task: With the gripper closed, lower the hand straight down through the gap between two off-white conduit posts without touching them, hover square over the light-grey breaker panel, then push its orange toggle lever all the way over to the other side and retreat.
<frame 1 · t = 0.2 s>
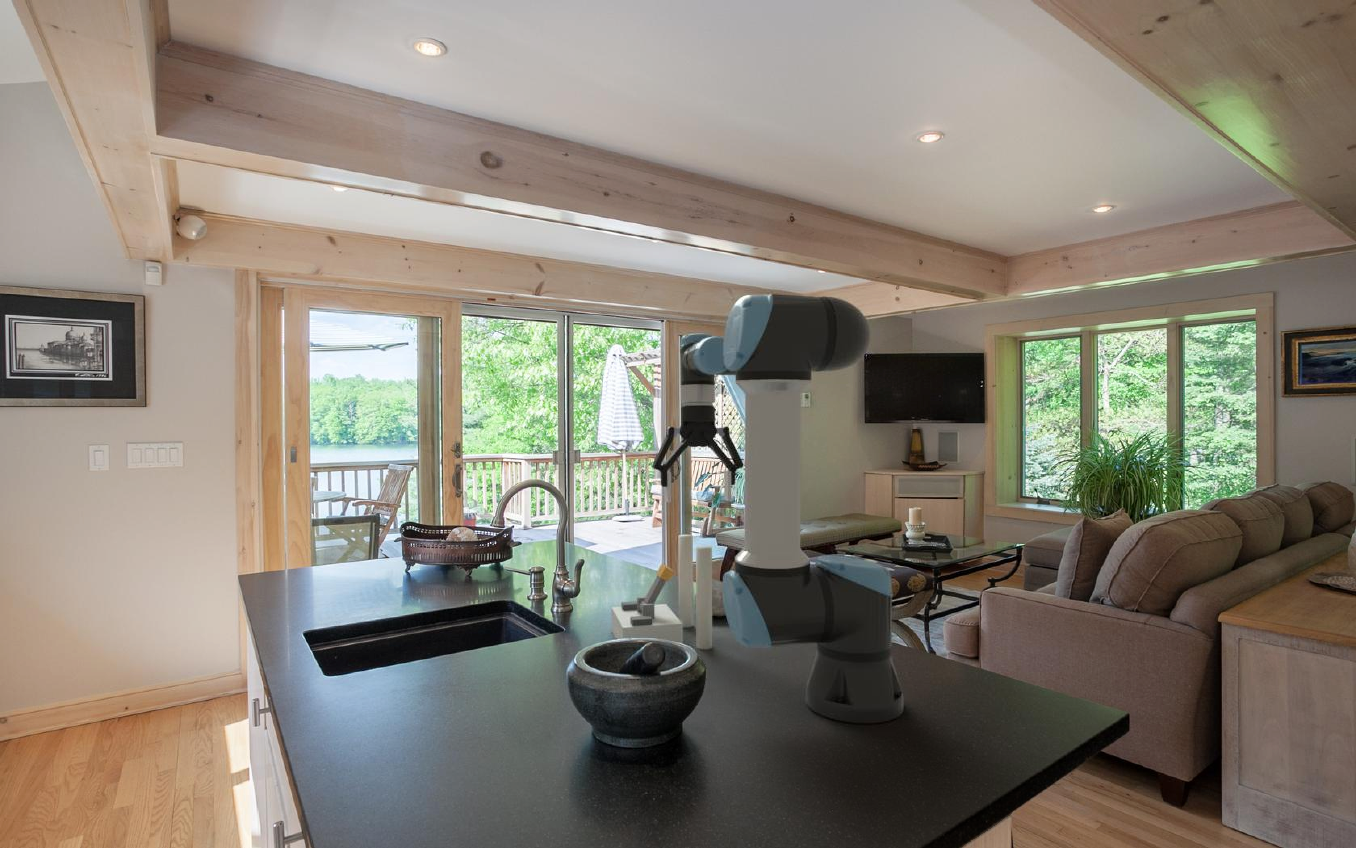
hand: (698, 501, 159), 28 cm above the worktop, fingers open, 13 cm apart
seashell: (717, 615, 169), on the worktop
post near: (704, 647, 145), on the worktop
breaker panel: (645, 639, 150), on the worktop
post far: (685, 625, 160), on the worktop
breaker lever: (655, 589, 151), point 10 cm above the worktop, hinge at 30.0°
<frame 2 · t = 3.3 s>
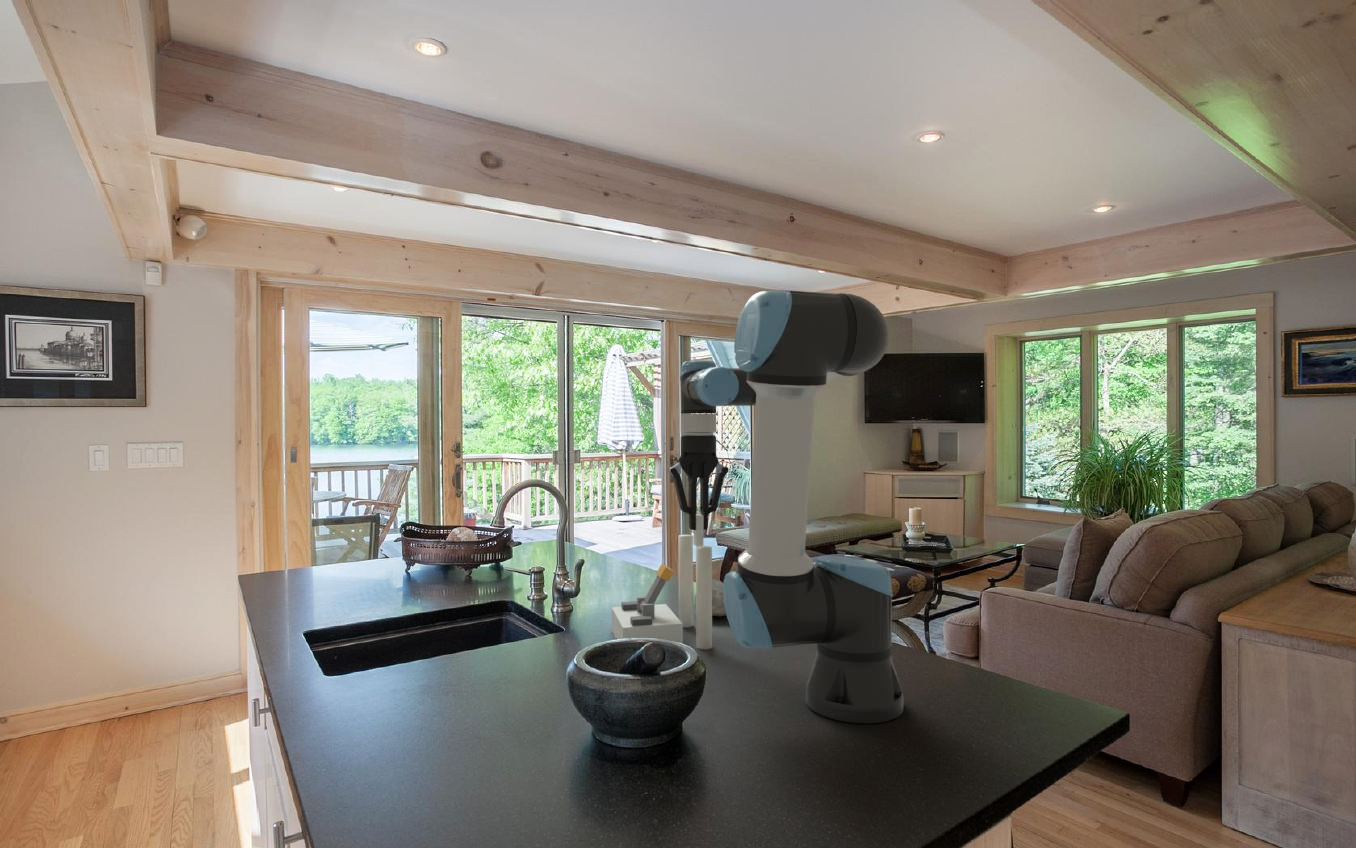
hand: (698, 545, 153), 19 cm above the worktop, fingers closed
nothing on the worktop moved.
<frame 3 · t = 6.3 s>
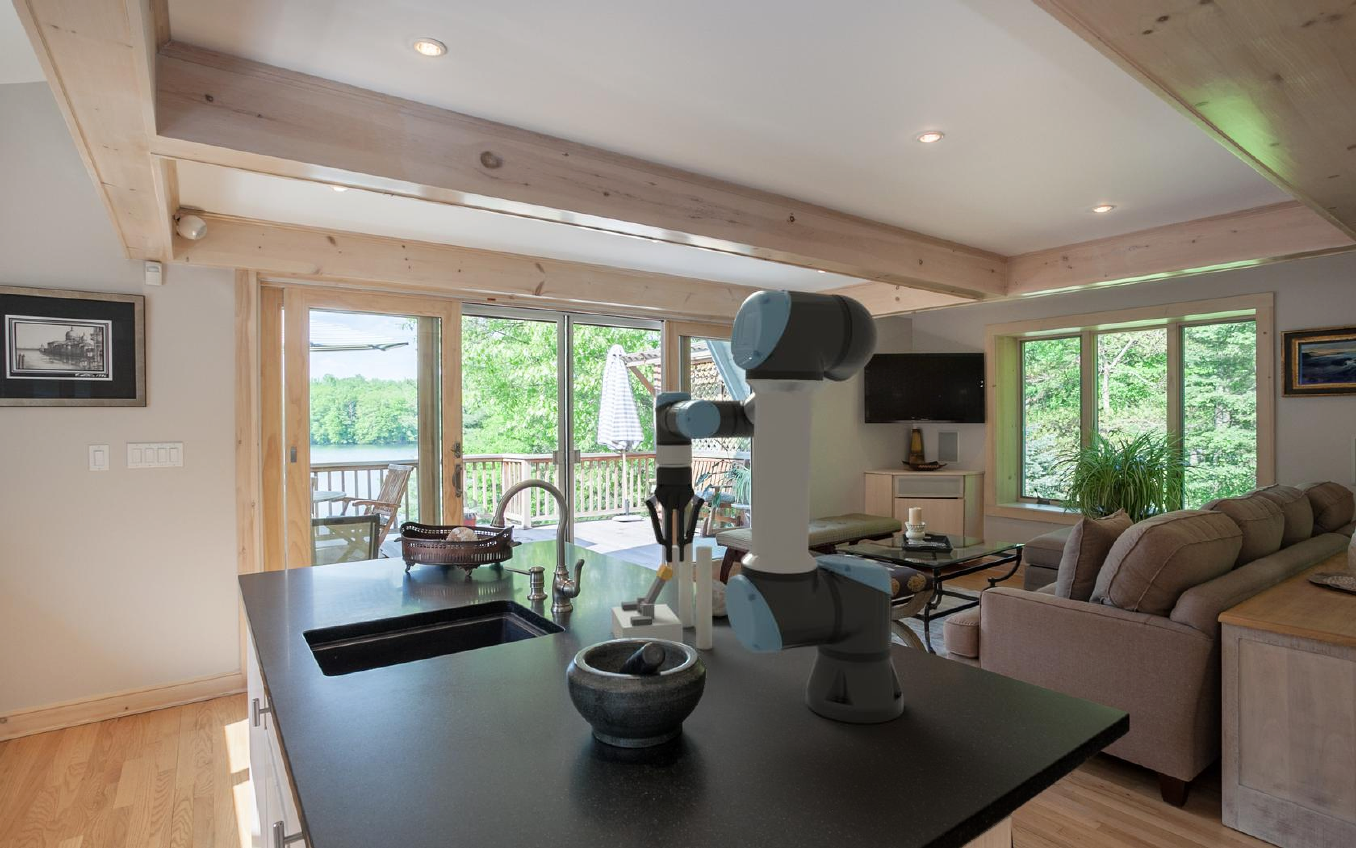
hand: (674, 577, 152), 13 cm above the worktop, fingers closed
breaker lever: (655, 589, 151), point 10 cm above the worktop, hinge at 29.9°, touching gripper
everything else where it was.
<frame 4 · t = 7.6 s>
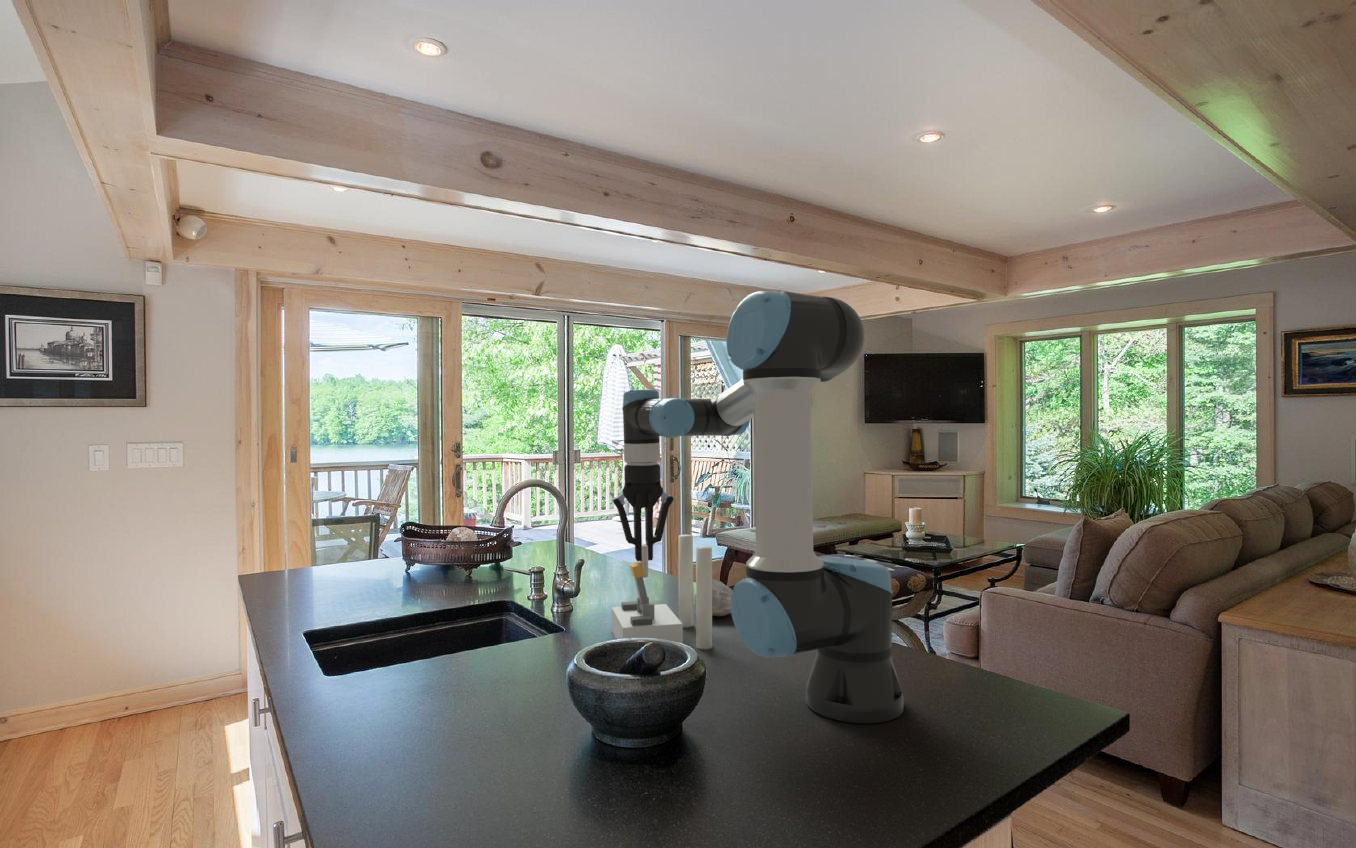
hand: (644, 576, 151), 13 cm above the worktop, fingers closed
breaker lever: (641, 588, 150), point 11 cm above the worktop, hinge at -13.1°, touching gripper
everything else where it was.
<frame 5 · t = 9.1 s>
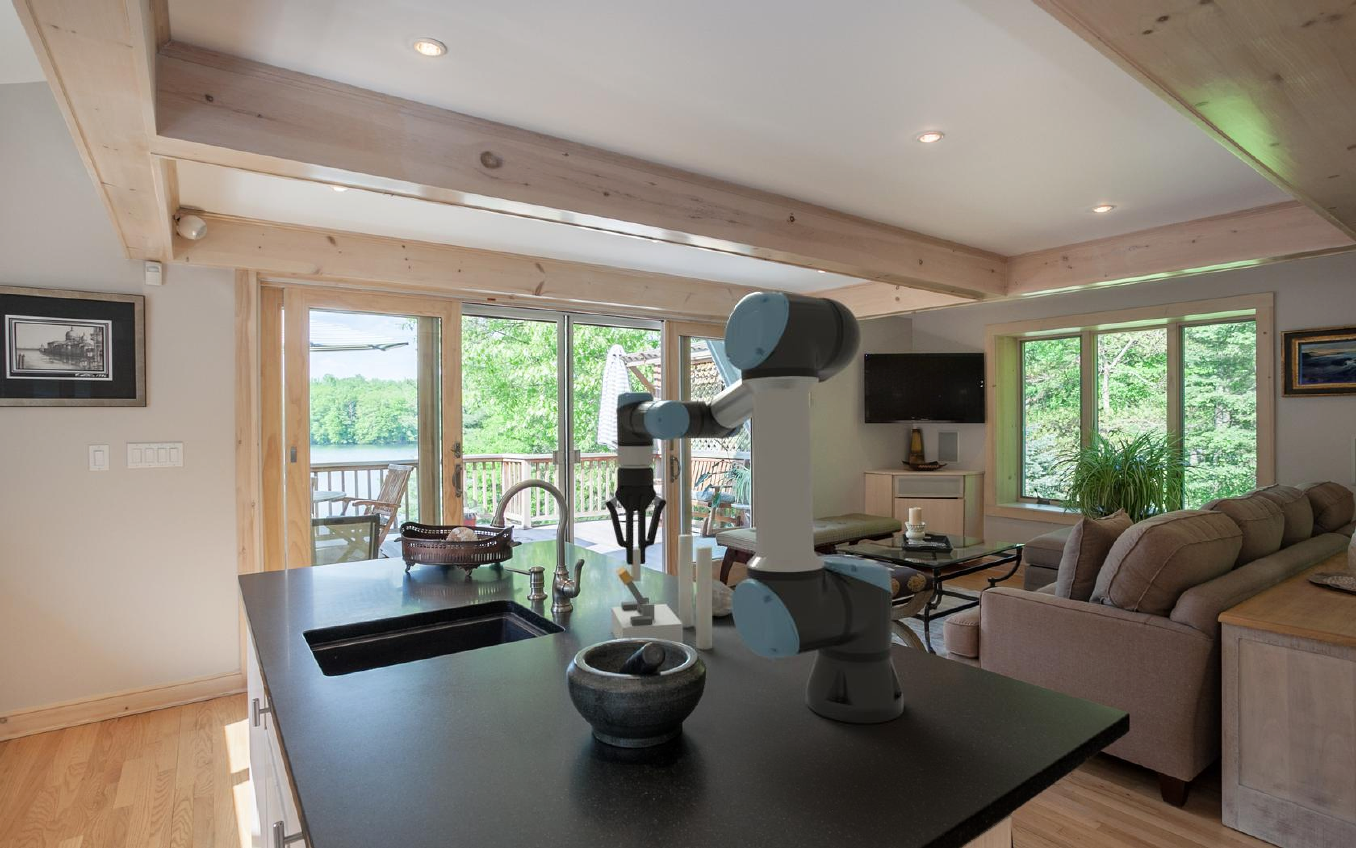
hand: (635, 579, 150), 12 cm above the worktop, fingers closed
breaker lever: (634, 591, 150), point 10 cm above the worktop, hinge at -32.5°
everything else where it was.
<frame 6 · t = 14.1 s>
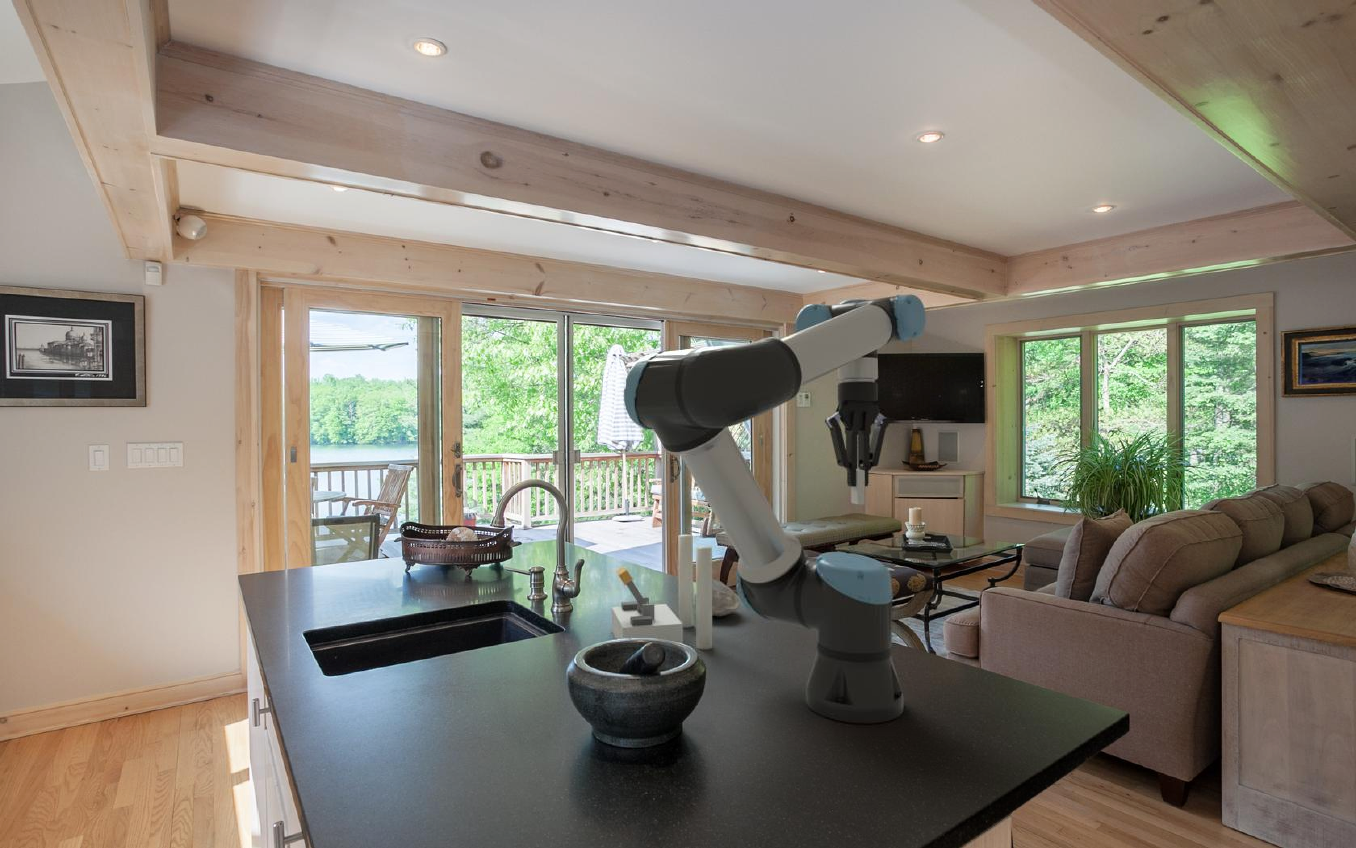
hand: (857, 503, 139), 29 cm above the worktop, fingers closed
nothing on the worktop moved.
at the end: breaker lever at -32° (first picture: +30°); post near moved 0.0 cm from its start; post far moved 0.0 cm from its start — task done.
